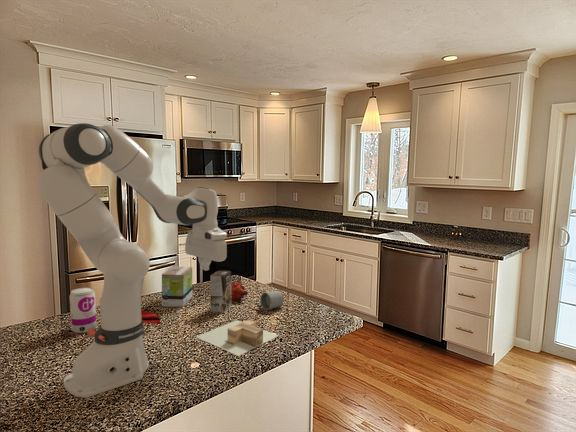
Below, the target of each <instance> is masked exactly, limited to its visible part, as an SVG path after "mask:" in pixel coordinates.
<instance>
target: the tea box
mask: <svg viewBox="0 0 576 432" xmlns="http://www.w3.org/2000/svg"><path fill="white" fill-rule="evenodd" d="M192 297H193V267H192V266H171V267H170V268H169V269H167V270H166V271H164V272H162V274H161V306H162V307H166V308H167V307H169V308H170V307H173V308H174V307H175V308H183V307H184V306H186V304H187V303H188V301H190V299H192Z"/></svg>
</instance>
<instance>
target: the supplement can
mask: <svg viewBox="0 0 576 432" xmlns="http://www.w3.org/2000/svg"><path fill="white" fill-rule="evenodd" d="M68 298H69V310H70V311H69V312H70V328H71V329H70V330H71V331H72V332H73V333H74V334H84V333H87V331H89V329H90V328H93V329H94V330H95V328H96V327H97V312H96V309H97V308H96V307H97V306H96V292H95V291H94V289H93V288H92V287H79V288H75V289H72V290H71V291H70V294H69V297H68Z"/></svg>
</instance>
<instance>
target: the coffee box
mask: <svg viewBox="0 0 576 432" xmlns="http://www.w3.org/2000/svg"><path fill="white" fill-rule="evenodd" d="M209 281H210V313H226V312H227V311H228V310H229V308H231V307H232V298H231V283H232V271H230V270H217V271H215V272H213V273H212V274H211V275H210V280H209Z"/></svg>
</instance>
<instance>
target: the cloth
mask: <svg viewBox="0 0 576 432" xmlns="http://www.w3.org/2000/svg"><path fill="white" fill-rule="evenodd" d="M141 319H142V320H143V324H145V323H146V324H159V325H162V324H163V323H161V321H160V320H162V318H161V317H159V316H158V315H156V314H154V313H152V312H151V313H150V312H148V311H144V309H142V308H141Z"/></svg>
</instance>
